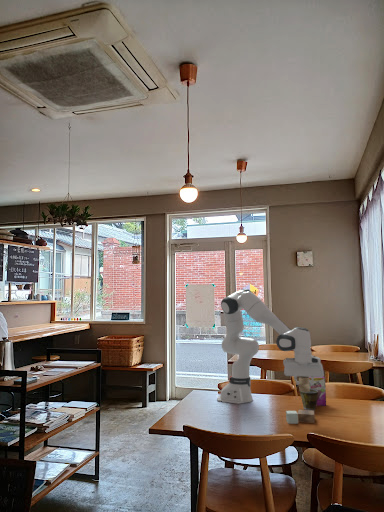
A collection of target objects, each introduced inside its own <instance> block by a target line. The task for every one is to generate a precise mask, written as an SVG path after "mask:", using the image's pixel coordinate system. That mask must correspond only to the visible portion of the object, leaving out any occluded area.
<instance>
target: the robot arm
mask: <svg viewBox="0 0 384 512" xmlns="http://www.w3.org/2000/svg"><path fill="white" fill-rule="evenodd" d="M220 307H221V310H222V312H223V318H224V323H225V328H226V335H225V338H223V339H222V341H221V349H222V351H223V352H224V353H226V354H229V355H238V359H237V360H236V361H233V363H232V365H231V376H230V377H229V378H228V383H227V384H226V385H225V386H224V387H222V389H221V390H220V395H218V396H217V398H216V401H217V400H218V401H217V402H221V401H222V403H231V404H238V405H240V404H243V403H244V404H245V403H251V402H253V401H254V399H253V395H252V389H251V386H252V385H251V384H252V383H251V376H250V375H251V374H250V367H251V366H250V365H251V361H252V359H253V357H255V355H257V353H258V352H259V350H260V345H259V342H258V341H257V339H255V338H251V337H242V336H240V333H242V332H243V331H244V330H245V325H244V324H245V323H244V320H243V315H242V312H241V311H242V310H244V312H246V313H247V315H248V316H249V317H250V318H251V319H252V320H254V321H255V322H257V323H259V324H264V325H268V326H269V327H271V329H272V328H273V330H274V331H275V332H276V333H278V334H279V335H278V336H277V338H276V339H275V340H276V341H275V342H276V347H277V349H279V350H281V351H284V352H290V351H293V354H294V357H286V358H284V359H283V361H282V363H283V366H284V370H283V371H284V372H283V374H284V376H286V377H293V379H294V381H295V383H296V386H299V380H298V379H297V378H299V377H311V379H312V380H311V382H309V386H312V382H313V380H314V377H321V378H322V377H325V372H324V366H323V363H322V362H321V358H320V357H318V356H316V355H313V354H312V348H311V347H312V340H311V339H312V338H311V333H310V330H309V329H307V328H306V327H300V326H296V327H294V328H293V329H291V328H290V327H289V326H287V325H286V324H285V323H284V322H283V321H282V320H281V319H280V318H279V317H278V316H277V315H276V314H275V313H274V312H272V310H271V309H270V308H269V306H267V305H266V304H265V303H264V301H262V299H261V298H260V297H258V296H257V295H256V294H255V293H254V292H252V291H251V290H250V289H249V288H242V289H240V290H237V291H235V292H232V293H231V294H230V295H228V296H226V297H224V298H223V299H222V300H221V302H220Z"/></svg>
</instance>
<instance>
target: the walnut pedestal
mask: <svg viewBox="0 0 384 512" xmlns="http://www.w3.org/2000/svg"><path fill="white" fill-rule="evenodd" d="M297 413H298V423H308V424H309V423H310V424H315V422H316V421H315V419H316V418H315V410H306V409H298V411H297Z"/></svg>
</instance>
